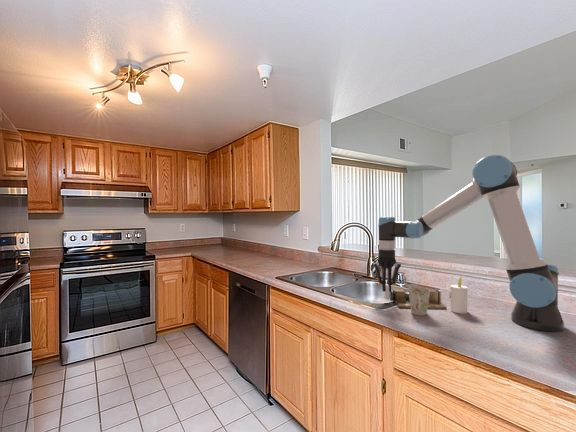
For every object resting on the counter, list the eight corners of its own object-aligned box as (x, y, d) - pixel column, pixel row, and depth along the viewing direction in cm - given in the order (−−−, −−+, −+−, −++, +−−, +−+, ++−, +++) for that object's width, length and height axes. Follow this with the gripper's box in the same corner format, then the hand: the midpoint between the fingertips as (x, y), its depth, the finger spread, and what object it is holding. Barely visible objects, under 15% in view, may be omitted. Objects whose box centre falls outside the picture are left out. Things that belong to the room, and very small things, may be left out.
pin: (438, 303, 133) (438, 292, 133) (391, 302, 135) (392, 292, 135) (434, 299, 138) (434, 289, 138) (389, 299, 140) (389, 289, 139)
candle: (450, 307, 128) (450, 273, 128) (467, 310, 124) (468, 275, 124) (448, 311, 123) (449, 276, 123) (466, 314, 119) (466, 278, 119)
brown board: (449, 309, 126) (449, 296, 126) (399, 308, 127) (399, 296, 127) (429, 295, 146) (429, 285, 145) (387, 295, 147) (387, 284, 147)
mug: (428, 310, 124) (428, 287, 124) (432, 321, 112) (432, 295, 112) (407, 308, 126) (407, 286, 126) (409, 318, 115) (409, 293, 114)
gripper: (398, 248, 140) (398, 296, 141) (371, 247, 141) (371, 295, 141) (403, 250, 133) (403, 300, 133) (374, 249, 134) (374, 300, 134)
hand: (386, 298), depth 137 cm, fingers closed
